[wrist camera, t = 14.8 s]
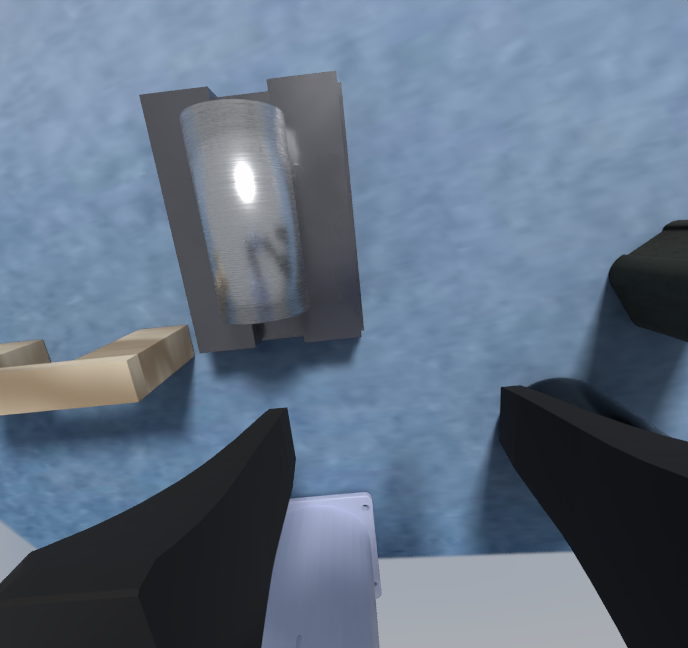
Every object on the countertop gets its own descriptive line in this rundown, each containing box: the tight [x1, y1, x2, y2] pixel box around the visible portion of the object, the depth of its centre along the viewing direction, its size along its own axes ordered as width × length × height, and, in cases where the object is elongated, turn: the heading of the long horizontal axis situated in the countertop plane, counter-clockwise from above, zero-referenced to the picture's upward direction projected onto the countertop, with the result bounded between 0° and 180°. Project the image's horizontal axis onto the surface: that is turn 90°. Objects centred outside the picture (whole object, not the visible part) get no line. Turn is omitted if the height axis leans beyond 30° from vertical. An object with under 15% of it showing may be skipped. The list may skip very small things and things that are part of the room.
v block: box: [139, 71, 364, 353], centre depth 17 cm, size 12×9×3 cm
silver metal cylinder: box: [179, 99, 310, 324], centre depth 14 cm, size 8×4×4 cm, turn 6°
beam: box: [0, 325, 195, 415], centre depth 18 cm, size 2×12×6 cm, turn 96°
